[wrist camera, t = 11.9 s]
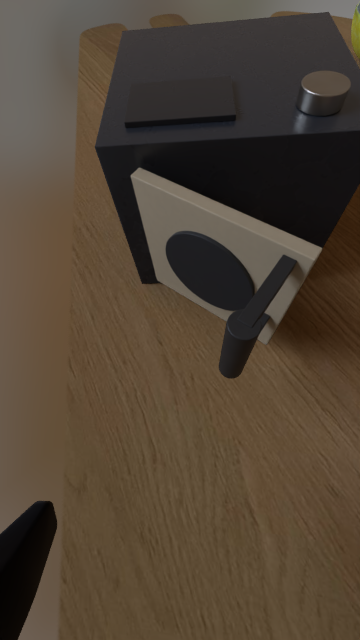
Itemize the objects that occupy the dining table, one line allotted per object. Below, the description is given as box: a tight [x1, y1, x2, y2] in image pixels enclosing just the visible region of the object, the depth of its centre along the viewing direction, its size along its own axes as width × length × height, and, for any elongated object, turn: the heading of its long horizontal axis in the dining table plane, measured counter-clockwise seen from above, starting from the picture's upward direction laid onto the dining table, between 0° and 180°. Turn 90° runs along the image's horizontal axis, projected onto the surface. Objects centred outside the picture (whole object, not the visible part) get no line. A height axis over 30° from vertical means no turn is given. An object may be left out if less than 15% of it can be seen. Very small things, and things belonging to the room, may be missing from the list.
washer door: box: [131, 168, 322, 378], centre depth 17 cm, size 6×10×10 cm, turn 54°
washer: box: [95, 12, 360, 284], centre depth 23 cm, size 14×15×14 cm
